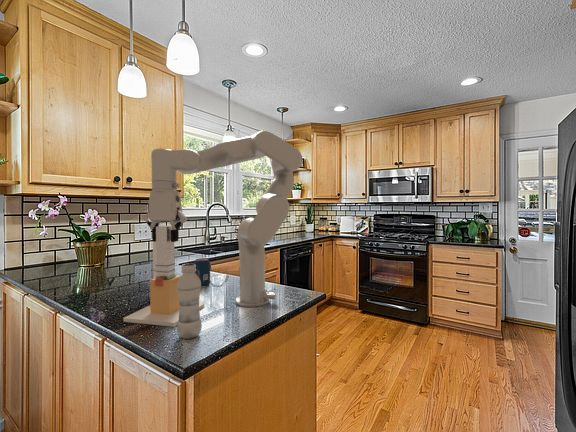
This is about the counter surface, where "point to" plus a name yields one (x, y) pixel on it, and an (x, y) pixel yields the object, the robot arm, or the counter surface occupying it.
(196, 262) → the soda can
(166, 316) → the stand base
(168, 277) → the steel column
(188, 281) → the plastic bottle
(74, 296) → the counter surface
